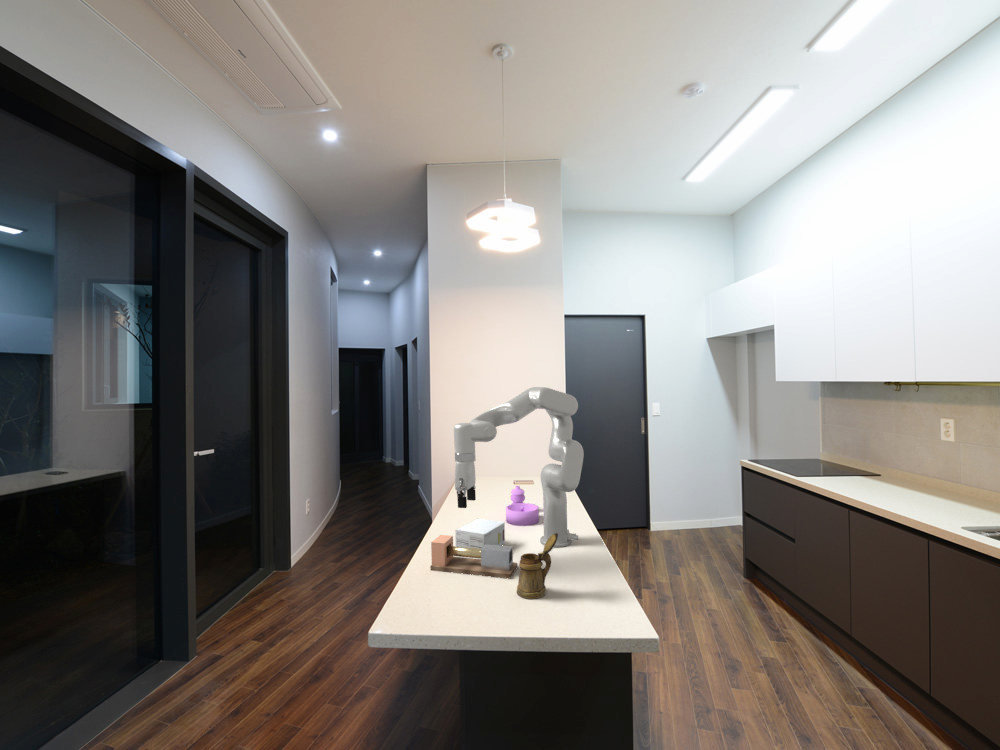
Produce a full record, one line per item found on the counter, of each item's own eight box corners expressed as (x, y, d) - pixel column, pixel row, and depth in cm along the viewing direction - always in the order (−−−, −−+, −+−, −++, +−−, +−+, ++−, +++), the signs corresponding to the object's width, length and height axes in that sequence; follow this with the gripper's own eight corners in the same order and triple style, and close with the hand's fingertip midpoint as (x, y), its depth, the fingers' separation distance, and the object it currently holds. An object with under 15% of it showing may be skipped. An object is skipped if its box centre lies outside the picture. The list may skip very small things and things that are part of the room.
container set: (541, 525, 212) (541, 496, 212) (508, 527, 210) (508, 497, 210) (531, 509, 237) (531, 483, 237) (502, 511, 235) (501, 485, 235)
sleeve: (512, 565, 163) (512, 546, 163) (509, 571, 158) (508, 551, 158) (485, 562, 166) (485, 544, 166) (481, 568, 161) (480, 549, 161)
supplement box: (484, 559, 173) (484, 534, 173) (455, 553, 179) (454, 529, 179) (505, 544, 188) (505, 521, 188) (477, 539, 194) (477, 517, 194)
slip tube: (497, 558, 164) (496, 548, 164) (494, 561, 161) (494, 551, 161) (443, 552, 170) (443, 543, 170) (439, 556, 166) (439, 546, 166)
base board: (517, 567, 165) (517, 562, 165) (510, 578, 156) (510, 574, 156) (441, 559, 173) (441, 555, 173) (430, 570, 164) (430, 565, 164)
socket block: (453, 557, 171) (452, 535, 171) (444, 566, 163) (444, 543, 163) (440, 556, 172) (440, 534, 172) (431, 564, 165) (431, 542, 165)
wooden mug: (562, 596, 142) (561, 537, 142) (519, 600, 140) (518, 540, 140) (555, 584, 151) (554, 528, 151) (514, 587, 149) (513, 531, 149)
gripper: (463, 452, 179) (465, 497, 179) (446, 461, 163) (448, 510, 163) (482, 453, 177) (483, 497, 177) (466, 461, 161) (468, 511, 161)
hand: (467, 503), depth 170 cm, fingers open, 9 cm apart
